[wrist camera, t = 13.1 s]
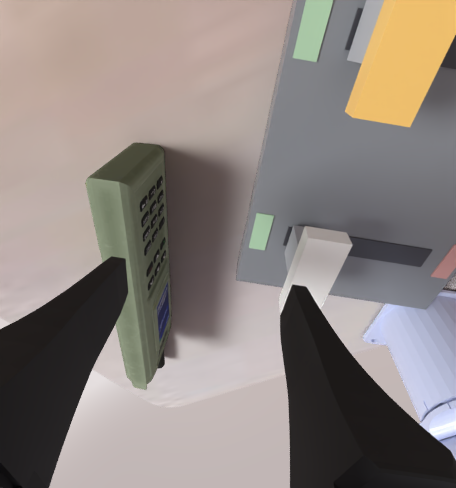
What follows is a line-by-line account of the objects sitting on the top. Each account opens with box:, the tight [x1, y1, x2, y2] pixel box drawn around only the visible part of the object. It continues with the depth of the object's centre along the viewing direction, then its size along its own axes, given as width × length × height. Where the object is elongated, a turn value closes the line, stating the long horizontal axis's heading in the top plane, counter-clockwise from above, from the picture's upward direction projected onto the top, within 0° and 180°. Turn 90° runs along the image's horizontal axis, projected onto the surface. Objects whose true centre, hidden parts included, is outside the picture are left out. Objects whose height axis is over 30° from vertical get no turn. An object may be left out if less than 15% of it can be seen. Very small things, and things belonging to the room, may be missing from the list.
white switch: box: [279, 225, 352, 313], centre depth 19 cm, size 2×6×4 cm, turn 172°
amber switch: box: [345, 0, 456, 127], centre depth 12 cm, size 2×6×4 cm, turn 172°
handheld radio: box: [86, 143, 172, 390], centre depth 24 cm, size 7×3×25 cm
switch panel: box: [236, 0, 456, 310], centre depth 18 cm, size 16×22×2 cm
